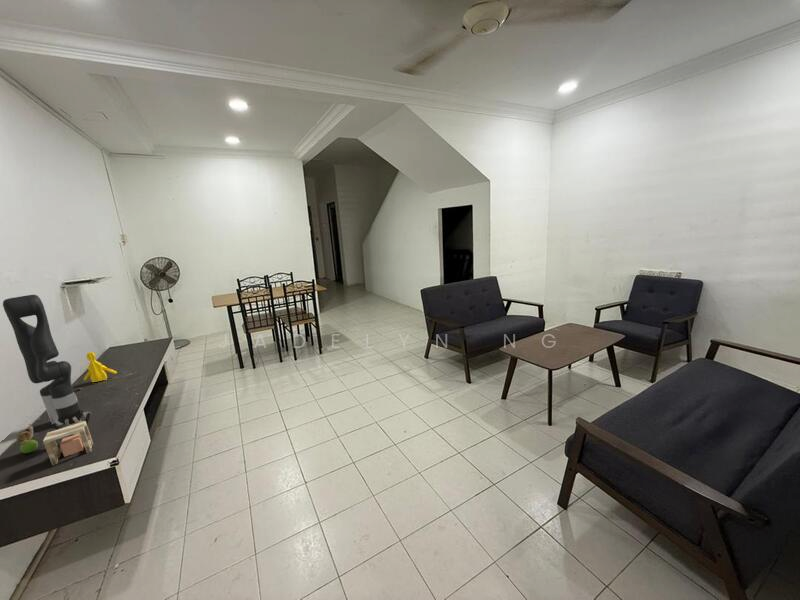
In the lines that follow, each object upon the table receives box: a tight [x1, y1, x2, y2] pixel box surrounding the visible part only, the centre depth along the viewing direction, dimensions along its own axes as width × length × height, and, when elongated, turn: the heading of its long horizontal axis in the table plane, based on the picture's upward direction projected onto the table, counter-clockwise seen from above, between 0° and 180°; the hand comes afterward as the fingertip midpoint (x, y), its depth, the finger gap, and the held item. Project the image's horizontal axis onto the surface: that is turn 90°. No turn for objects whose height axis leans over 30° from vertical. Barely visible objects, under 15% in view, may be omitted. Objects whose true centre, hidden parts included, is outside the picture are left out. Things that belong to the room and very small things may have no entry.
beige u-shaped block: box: [42, 420, 94, 466], centre depth 137 cm, size 8×12×12 cm, turn 129°
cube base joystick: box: [59, 423, 85, 458], centre depth 144 cm, size 15×6×8 cm, turn 39°
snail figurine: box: [17, 423, 39, 454], centre depth 142 cm, size 5×6×12 cm
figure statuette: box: [83, 351, 118, 383], centre depth 211 cm, size 18×8×22 cm, turn 117°
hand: (78, 435), depth 149 cm, fingers closed on cube base joystick, 3 cm apart
